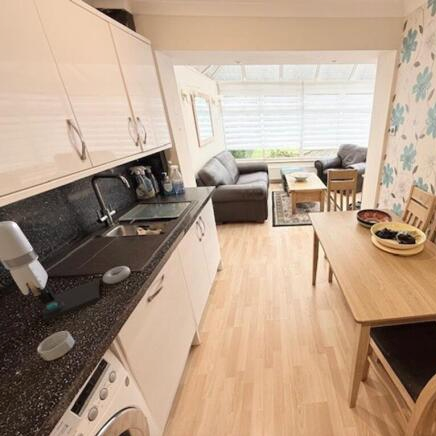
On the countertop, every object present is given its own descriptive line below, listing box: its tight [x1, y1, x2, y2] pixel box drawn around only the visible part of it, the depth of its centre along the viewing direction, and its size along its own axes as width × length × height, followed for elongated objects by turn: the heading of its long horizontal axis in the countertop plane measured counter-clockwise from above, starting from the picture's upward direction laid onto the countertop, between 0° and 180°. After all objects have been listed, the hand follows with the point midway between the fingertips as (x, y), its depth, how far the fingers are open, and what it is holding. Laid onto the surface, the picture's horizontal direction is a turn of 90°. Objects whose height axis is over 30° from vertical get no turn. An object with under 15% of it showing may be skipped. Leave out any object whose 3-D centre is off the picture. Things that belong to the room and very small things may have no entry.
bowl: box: [36, 330, 76, 362], centre depth 72 cm, size 7×7×4 cm
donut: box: [102, 265, 131, 285], centre depth 102 cm, size 10×4×10 cm
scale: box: [41, 278, 101, 323], centre depth 92 cm, size 16×14×3 cm
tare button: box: [47, 302, 58, 310], centre depth 85 cm, size 3×3×1 cm
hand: (49, 301), depth 84 cm, fingers closed
